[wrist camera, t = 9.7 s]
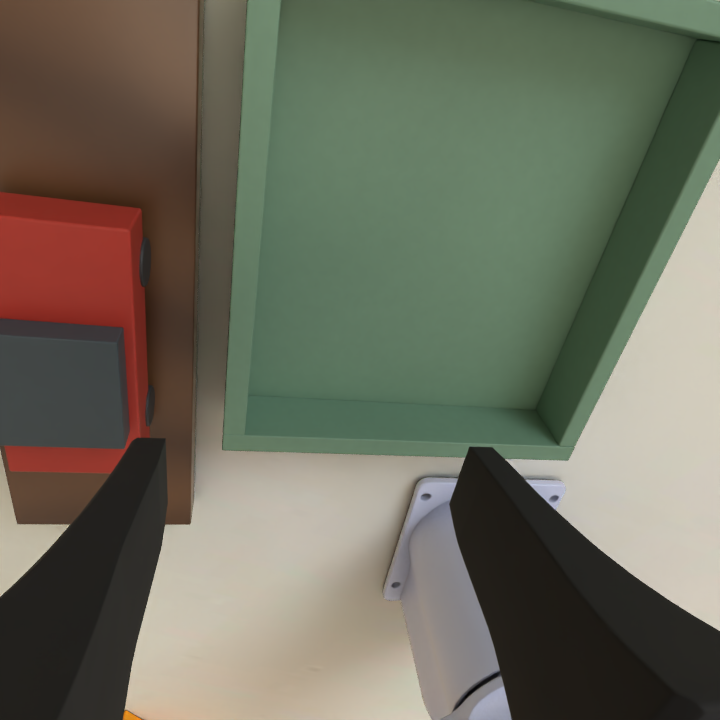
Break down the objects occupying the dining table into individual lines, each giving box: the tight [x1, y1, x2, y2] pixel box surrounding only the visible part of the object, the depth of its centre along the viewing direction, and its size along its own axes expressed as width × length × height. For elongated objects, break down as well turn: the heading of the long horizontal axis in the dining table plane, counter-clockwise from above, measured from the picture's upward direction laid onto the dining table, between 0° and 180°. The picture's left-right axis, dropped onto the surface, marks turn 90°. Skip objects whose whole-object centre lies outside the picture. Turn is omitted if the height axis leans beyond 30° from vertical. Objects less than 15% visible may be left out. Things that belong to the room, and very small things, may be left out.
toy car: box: [0, 192, 155, 473], centre depth 17 cm, size 9×4×3 cm, turn 170°
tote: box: [222, 0, 720, 461], centre depth 19 cm, size 17×15×3 cm
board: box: [0, 0, 205, 524], centre depth 19 cm, size 20×7×2 cm, turn 170°
